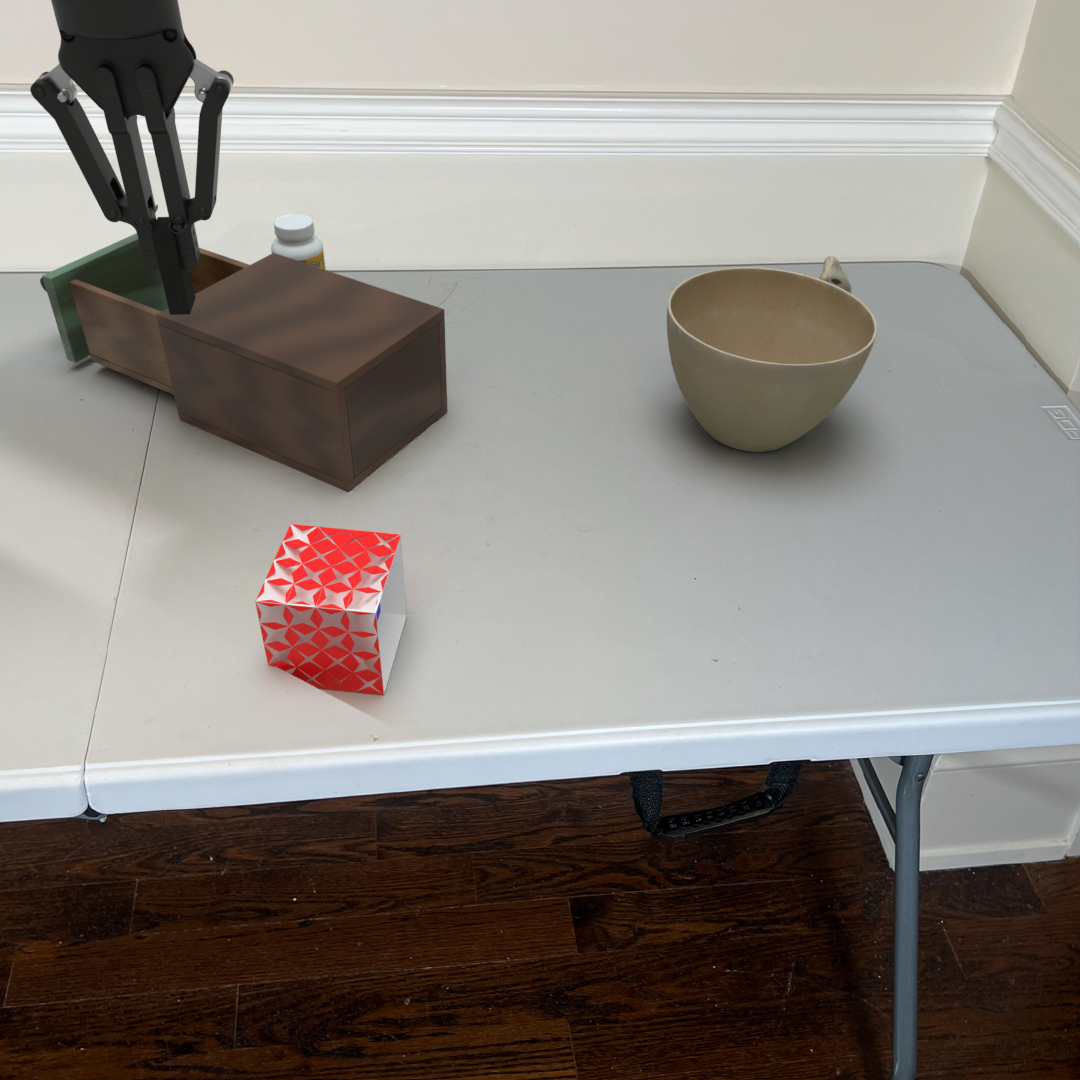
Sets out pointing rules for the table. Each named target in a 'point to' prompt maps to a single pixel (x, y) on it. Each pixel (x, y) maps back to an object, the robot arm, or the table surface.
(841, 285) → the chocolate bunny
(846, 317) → the beige bowl
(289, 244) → the supplement bottle
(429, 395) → the cabinet
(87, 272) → the drawer
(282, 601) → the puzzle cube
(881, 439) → the table surface
